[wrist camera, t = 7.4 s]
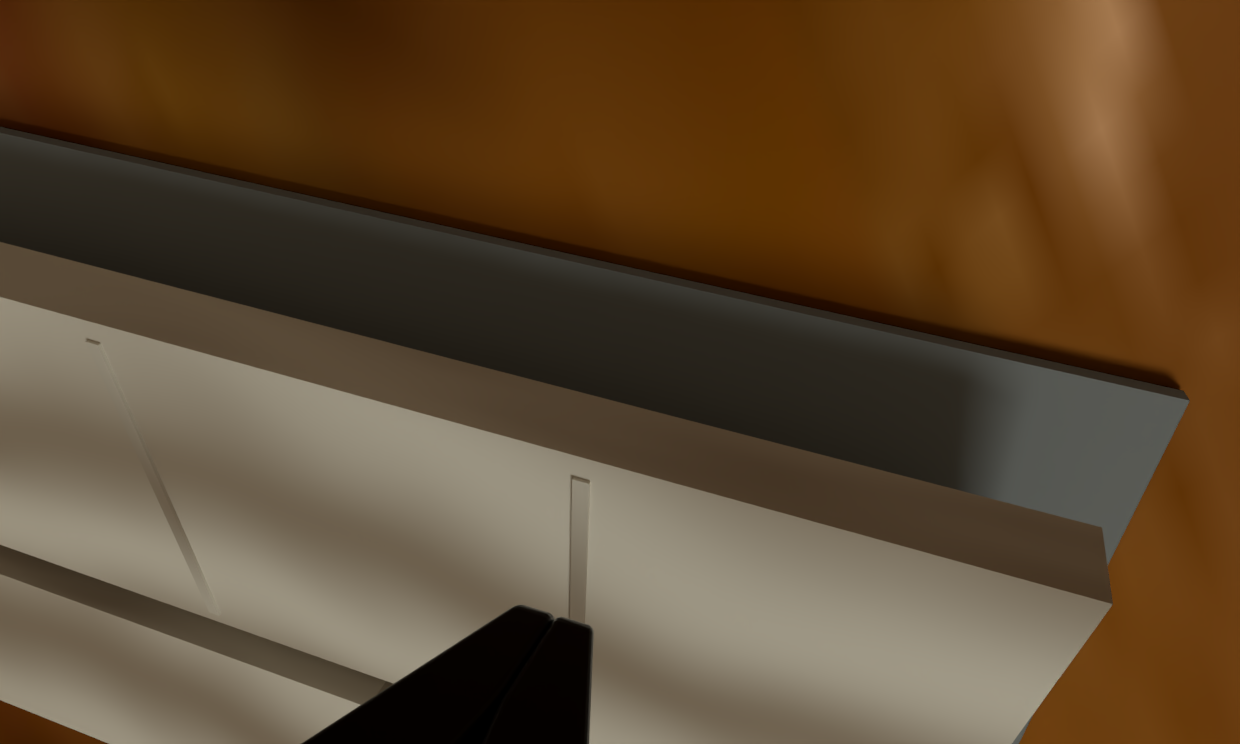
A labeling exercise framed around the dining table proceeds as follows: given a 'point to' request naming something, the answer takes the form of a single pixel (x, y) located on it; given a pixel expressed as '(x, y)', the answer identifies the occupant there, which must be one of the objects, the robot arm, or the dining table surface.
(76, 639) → the floor row
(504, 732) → the robot arm
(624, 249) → the dining table surface
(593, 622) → the plank
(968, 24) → the dining table surface
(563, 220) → the dining table surface
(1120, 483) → the underlay mat
